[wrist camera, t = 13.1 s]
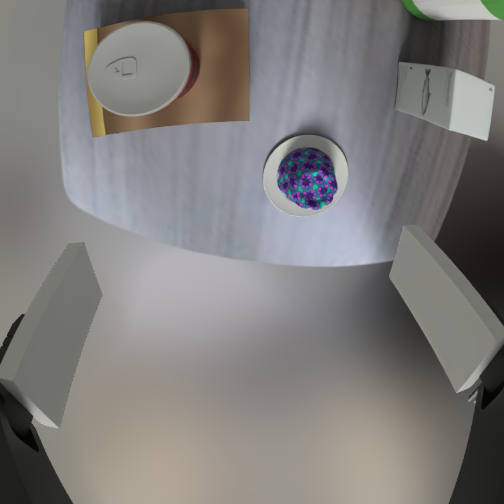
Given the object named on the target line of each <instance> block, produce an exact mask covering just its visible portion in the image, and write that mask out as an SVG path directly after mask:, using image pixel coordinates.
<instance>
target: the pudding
mask: <svg viewBox="0 0 504 504" xmlns="http://www.w3.org/2000/svg"><path fill="white" fill-rule="evenodd" d="M303 147H312V148H308V149H307V150H305V151H304V152H303V151H300V150H296V149H299V148H303ZM314 148H316V149H319V150H321V151H323V152H324V153H326V154H327V155H328V156H329V157H327V156H326V155H321V154H320V153H319V151H318V150H316V149H314ZM294 150H296V151H294ZM292 151H293V152H292ZM290 152H292V153H290ZM289 153H290V154H289ZM287 154H289V156H288V160H287V161H284V162H282V163H281V161H282V160H283V158H284V157H285V156H286V155H287ZM330 159H331V160H330ZM331 161H332V162H333V165H334V168H335V172H334V169H333V165H332V162H331ZM280 163H281V164H280ZM279 164H280V166H279ZM278 166H279V169H278ZM277 169H278V173H279V175H280V178H279V180H278V185H277V181H276V174H277ZM347 181H348V165H347V162H346V159H345V157H344V155H343V153H342V151H341V150H340V149H339V148H338V147H337V146H336V145H335V144H334V143H333V142H331V141H330V140H328V139H326V138H323V137H320V136H316V135H301V136H297V137H293V138H291V139H289V140H287V141H285V142H283V143H282V144H280V145H279V146H278V147H277V148H276V149H275V150H274V151H273V153H272V154H271V155H270V157H269V159H268V161H267V163H266V165H265V169H264V174H263V184H264V189H265V192H266V194H267V196H268V198H269V200H270V201H271V202H272V204H273V205H274V206H275V207H276V208H277V209H279V210H281V211H282V212H284V213H286V214H289V215H292V216H296V217H308V216H314V215H318V214H320V213H322V212H324V211H326V210H328V209H329V208H331V207H332V206H333V205H334V204H335V203H336V202H337V201H338V200H339V199H340V197H341V196H342V194H343V192H344V190H345V188H346V185H347ZM278 187H279V188H278ZM279 189H280V190H281V191H282V192H284V193H285V194H286V197H287V198H288V199H289V200H288V199H287V198H286V197H285V196H283V195H282V193H281V192H280V190H279Z"/></svg>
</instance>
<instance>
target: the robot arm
mask: <svg viewBox="0 0 504 504" xmlns="http://www.w3.org/2000/svg"><path fill="white" fill-rule="evenodd" d="M389 278H390V279H391V281H392V282H393V284H394V285H395V287H396V288H397V290H398V291H399V293H400V294H401V296H402V298H403V299H404V301H405V303H406V304H407V306H408V307H409V309H410V311H411V312H412V314H413V316H414V317H415V319H416V320H417V322H418V324H419V325H420V327H421V329H422V331H423V332H424V334H425V336H426V337H427V339H428V341H429V343H430V345H431V346H432V348H433V349H434V352H435V353H436V355H437V357H438V359H439V360H440V363H441V364H442V366H443V368H444V370H445V372H446V374H447V376H448V378H449V379H450V382H451V383H452V385H453V387H454V389H455V391H456V393H458V392H460V391H462V390H465V389H467V388H469V387H471V386H472V385H473V384H474V382H475V381H476V380H477V379H478V378H479V377H480V379H481V381H482V383H481V384H480V385H479V386H478V387H477V389H476V390H475V391H474V392H473V393H472V394H471V395H470V396H469V399H468V401H471V400H472V399H473V398H474V397H475V396H476V395H477V398H476V399H475V401H474V402H473V403H475V404H476V405H475V411H474V416H473V421H472V426H471V431H470V435H469V439H468V443H467V448H466V452H465V455H464V459H463V463H462V466H461V469H460V472H459V476H458V479H457V482H456V485H455V488H454V491H453V493H452V496H451V499H450V501H449V504H504V319H503V318H502V317H501V315H500V314H499V313H498V311H497V310H495V307H494V306H493V305H492V303H491V302H490V303H489V300H488V298H487V297H486V296H485V295H484V293H483V292H482V291H481V290H480V289H478V288H477V287H475V286H474V285H473V284H471V283H470V282H469V281H468V280H467V279H466V278H465V276H464V275H463V274H462V273H461V272H460V271H459V269H458V268H457V267H456V266H455V265H454V264H453V262H452V261H451V260H450V259H449V258H448V257H447V256H446V255H445V254H444V252H443V251H442V250H441V249H440V248H439V247H438V246H437V245H436V244H435V243H434V242H433V241H432V240H431V239H430V238H429V236H428V235H427V234H426V233H425V232H424V231H423V230H422V229H421V228H420V227H419V226H418V225H403V229H402V233H401V237H400V240H399V244H398V248H397V251H396V255H395V258H394V262H393V265H392V269H391V272H390V275H389ZM101 297H102V292H101V289H100V287H99V284H98V281H97V279H96V276H95V273H94V270H93V267H92V265H91V262H90V259H89V256H88V253H87V250H86V247H85V243H84V242H81V243H69V244H68V245H67V247H66V249H65V250H64V252H63V253H62V254H61V256H60V257H59V259H58V260H57V262H56V263H55V265H54V267H53V268H52V270H51V271H50V273H49V274H48V276H47V278H46V280H45V281H44V283H43V284H42V286H41V287H40V289H39V291H38V293H37V294H36V296H35V298H34V300H33V301H32V303H31V305H30V306H29V308H28V310H27V312H26V314H22V315H21V316H20V317H19V318H18V319H17V320H16V321H15V322H14V323H13V324H12V326H11V328H10V330H9V332H8V334H7V337H6V338H5V340H4V342H3V346H1V348H0V504H73V503H72V501H71V499H70V498H69V496H68V494H67V493H66V491H65V489H64V487H63V485H62V483H61V482H60V480H59V478H58V476H57V474H56V472H55V470H54V468H53V466H52V464H51V462H50V460H49V458H48V456H47V454H46V452H45V449H44V447H43V445H42V443H41V440H40V438H39V436H38V433H37V431H36V429H35V427H34V426H33V424H32V423H31V422H32V419H33V417H34V418H36V419H37V420H38V421H39V422H40V423H41V424H42V425H46V426H50V427H54V428H60V426H61V422H62V417H63V414H64V409H65V406H66V402H67V398H68V394H69V391H70V388H71V384H72V381H73V377H74V374H75V371H76V367H77V364H78V361H79V358H80V355H81V352H82V349H83V346H84V343H85V340H86V337H87V335H88V332H89V329H90V326H91V323H92V321H93V318H94V315H95V313H96V310H97V308H98V305H99V302H100V300H101Z"/></svg>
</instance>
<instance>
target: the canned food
mask: <svg viewBox="0 0 504 504" xmlns="http://www.w3.org/2000/svg"><path fill="white" fill-rule="evenodd" d="M200 67H201V66H200V59H199V56H198V53H197V51H196V50H195V48H194V47H193V46H192V45H191V44H190V43H189V42H188V41H187V40H186V39H185V38H184V37H183V36H182V35H180V34H179V33H178V32H177V31H175V30H174V29H172V28H170V27H169V26H167V25H164V24H161V23H157V22H151V21H138V22H133V23H129V24H126V25H123V26H121V27H119V28H117V29H115V30H114V31H112V32H111V33H109V34H108V35H107V36H106V37H105V38H104V39H103V40H102V41H101V42H100V43H99V44H98V46H97V47H96V48H95V50H94V52H93V54H92V56H91V58H90V62H89V65H88V74H87V77H88V85H89V88H90V90H91V93H92V95H93V96H94V98H95V100H96V101H97V102H98V103H99V104H100V105H101V106H102V107H103V108H105V109H107V110H108V111H110V112H112V113H115V114H117V115H122V116H142V115H147V114H151V113H154V112H156V111H159V110H161V109H163V108H164V107H166V106H168V105H170V104H171V103H173V102H174V101H176V100H177V99H179V98H181V97H182V96H184V95H185V94H186V93H187V92H189V91H190V90H191V88H192V87H193V86H194V85H195V83H196V81H197V79H198V76H199V74H200Z"/></svg>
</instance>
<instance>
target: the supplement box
mask: <svg viewBox="0 0 504 504" xmlns="http://www.w3.org/2000/svg"><path fill="white" fill-rule="evenodd" d="M494 91H495V85H494V84H492V83H490V82H487V81H485V80H483V79H480V78H478V77H475V76H473V75H470V74H468V73H465V72H462V71H460V70H457V69H453V68H447V67H440V66H434V65H426V64H417V63H407V62H399V71H398V87H397V97H396V104H395V109H396V110H399V111H402V112H405V113H408V114H411V115H413V116H416V117H419V118H422V119H424V120H427V121H429V122H431V123H434V124H436V125H439V126H441V127H443V128H445V129H448V130H451V131H455V132H459V133H462V134H466V135H469V136H472V137H476V138H479V139H482V140H485V141H487V139H488V135H489V129H490V122H491V116H492V108H493V99H494Z"/></svg>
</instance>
